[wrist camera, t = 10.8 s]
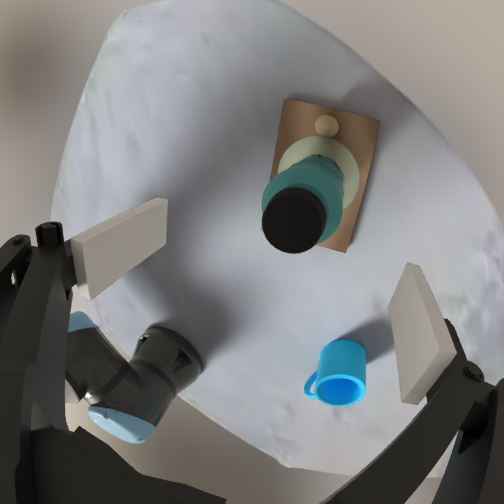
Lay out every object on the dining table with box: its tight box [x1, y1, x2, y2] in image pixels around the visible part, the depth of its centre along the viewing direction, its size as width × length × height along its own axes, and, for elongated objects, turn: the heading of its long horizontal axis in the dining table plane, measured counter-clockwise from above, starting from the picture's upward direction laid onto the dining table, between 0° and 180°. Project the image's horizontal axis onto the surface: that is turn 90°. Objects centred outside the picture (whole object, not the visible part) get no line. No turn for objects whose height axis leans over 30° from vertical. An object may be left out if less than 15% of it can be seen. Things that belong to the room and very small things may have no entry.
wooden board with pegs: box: [261, 99, 380, 253], centre depth 33 cm, size 12×18×8 cm, turn 171°
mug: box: [304, 340, 366, 407], centre depth 44 cm, size 12×8×8 cm
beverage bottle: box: [262, 154, 345, 254], centre depth 26 cm, size 6×7×20 cm
